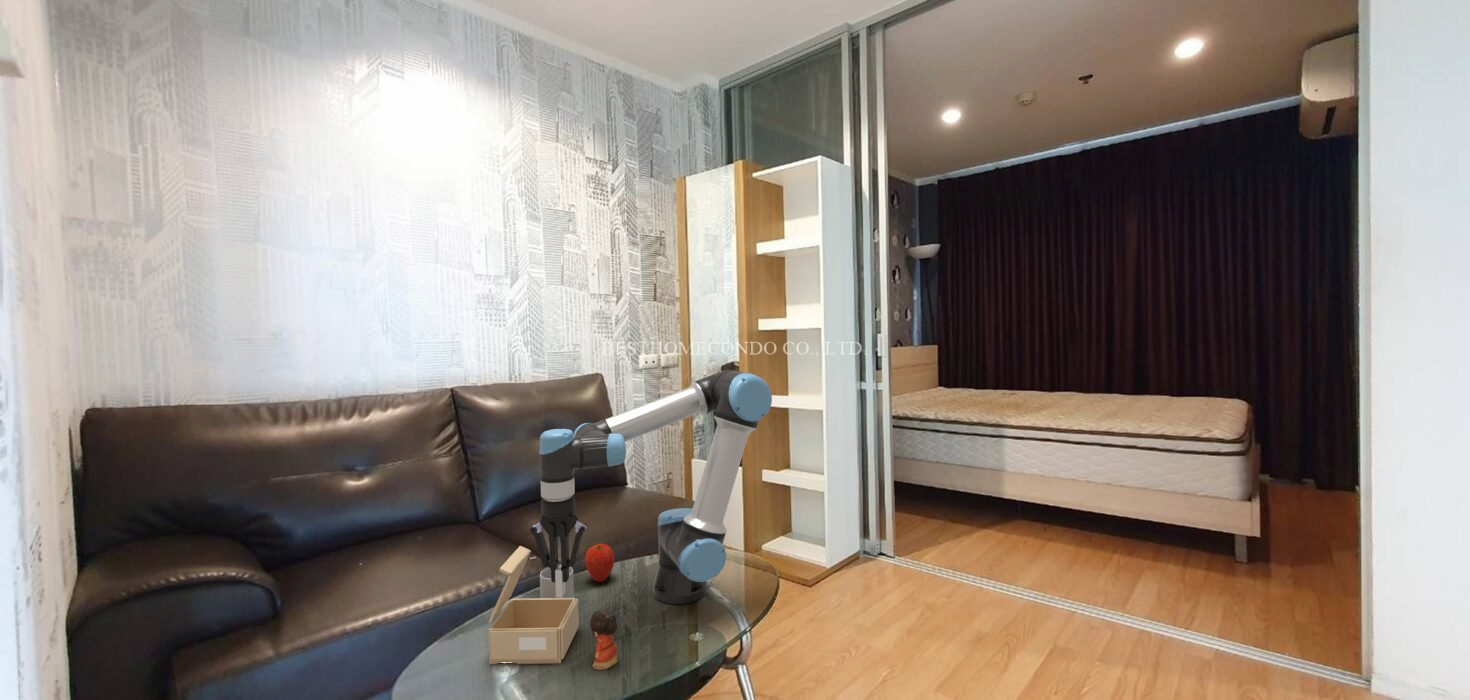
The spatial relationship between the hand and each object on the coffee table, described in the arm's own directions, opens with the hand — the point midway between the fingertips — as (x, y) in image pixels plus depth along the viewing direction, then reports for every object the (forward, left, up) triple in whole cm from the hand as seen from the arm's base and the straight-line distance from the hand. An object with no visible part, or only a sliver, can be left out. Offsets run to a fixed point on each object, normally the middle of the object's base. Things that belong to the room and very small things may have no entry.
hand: (560, 594), depth 137 cm
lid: (+11, 0, +2) cm, 12 cm away
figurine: (-12, +7, -13) cm, 19 cm away
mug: (+6, -17, -13) cm, 22 cm away
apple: (-2, -33, -13) cm, 36 cm away
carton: (+6, 0, -13) cm, 14 cm away
